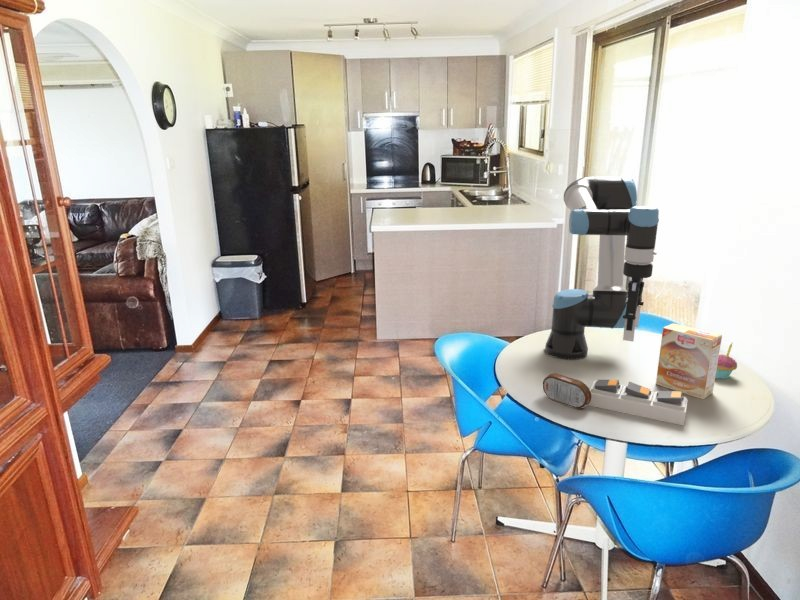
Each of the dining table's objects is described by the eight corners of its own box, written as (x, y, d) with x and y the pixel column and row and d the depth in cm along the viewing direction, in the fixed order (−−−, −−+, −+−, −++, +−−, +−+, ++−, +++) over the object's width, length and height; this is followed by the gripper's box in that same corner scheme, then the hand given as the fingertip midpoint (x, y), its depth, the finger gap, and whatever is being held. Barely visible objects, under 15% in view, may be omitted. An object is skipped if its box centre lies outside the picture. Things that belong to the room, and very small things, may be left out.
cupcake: (726, 370, 187) (732, 337, 183) (740, 381, 179) (746, 347, 175) (700, 370, 187) (705, 337, 184) (713, 381, 179) (719, 347, 176)
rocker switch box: (578, 403, 166) (579, 388, 165) (584, 391, 173) (586, 376, 172) (683, 425, 152) (686, 409, 151) (685, 411, 160) (688, 396, 159)
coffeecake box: (654, 384, 178) (662, 327, 172) (665, 378, 182) (672, 322, 177) (703, 400, 167) (713, 339, 161) (713, 393, 171) (723, 334, 166)
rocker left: (595, 390, 164) (594, 385, 164) (598, 384, 169) (597, 379, 168) (616, 391, 161) (615, 385, 161) (619, 384, 165) (618, 379, 165)
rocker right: (657, 403, 156) (657, 397, 156) (659, 396, 161) (658, 390, 160) (681, 403, 153) (680, 397, 153) (682, 396, 157) (681, 390, 157)
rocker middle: (625, 392, 160) (626, 387, 160) (627, 386, 164) (629, 381, 164) (646, 400, 158) (648, 395, 157) (648, 394, 162) (650, 388, 161)
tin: (590, 409, 162) (593, 383, 160) (585, 413, 160) (587, 387, 158) (545, 394, 172) (547, 369, 170) (540, 397, 170) (541, 372, 168)
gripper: (649, 272, 143) (640, 349, 149) (656, 255, 164) (648, 322, 170) (618, 269, 147) (611, 344, 153) (629, 253, 168) (622, 319, 174)
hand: (630, 333), depth 161 cm, fingers open, 13 cm apart
